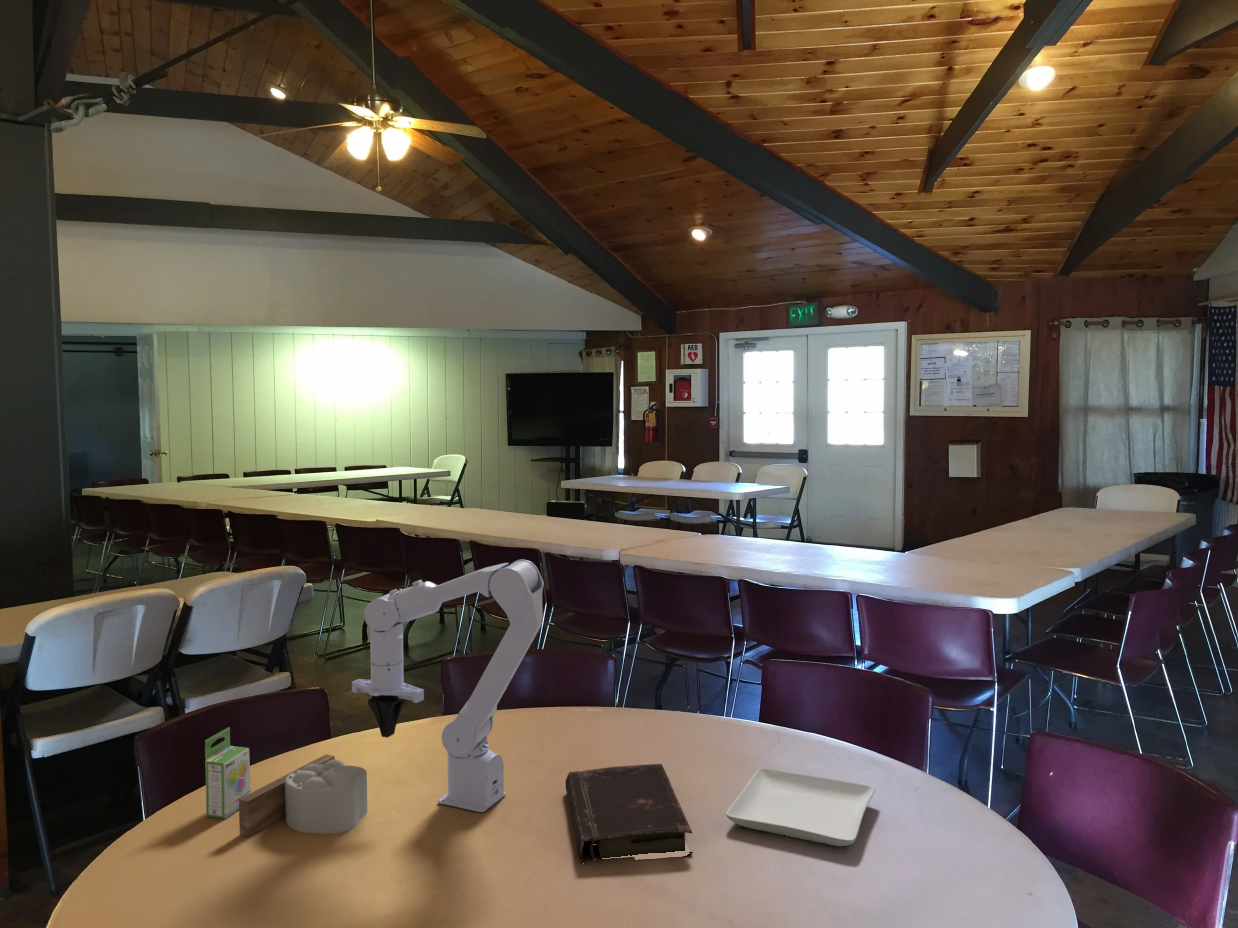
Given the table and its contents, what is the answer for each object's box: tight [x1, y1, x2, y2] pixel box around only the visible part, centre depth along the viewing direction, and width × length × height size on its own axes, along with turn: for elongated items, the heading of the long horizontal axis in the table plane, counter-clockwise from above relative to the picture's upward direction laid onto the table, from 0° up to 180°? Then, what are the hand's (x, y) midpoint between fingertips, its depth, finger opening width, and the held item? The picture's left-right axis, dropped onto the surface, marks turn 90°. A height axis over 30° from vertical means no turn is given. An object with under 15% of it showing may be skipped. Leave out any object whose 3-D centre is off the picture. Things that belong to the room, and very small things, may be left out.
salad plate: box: [725, 767, 876, 847], centre depth 146 cm, size 21×21×3 cm
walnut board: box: [238, 754, 336, 838], centre depth 148 cm, size 2×20×6 cm, turn 156°
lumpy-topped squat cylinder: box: [285, 758, 368, 834], centre depth 146 cm, size 10×13×9 cm
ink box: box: [204, 726, 252, 820], centre depth 149 cm, size 7×4×13 cm, turn 168°
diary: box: [565, 763, 693, 864], centre depth 144 cm, size 19×25×5 cm
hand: (387, 735), depth 155 cm, fingers closed
